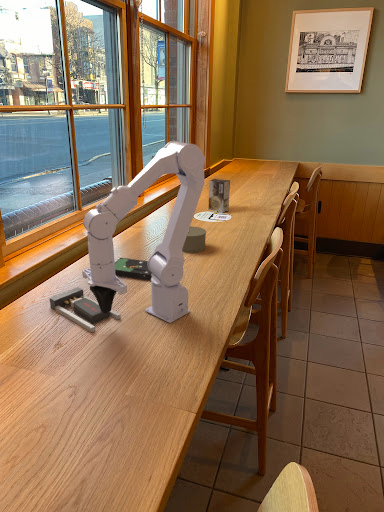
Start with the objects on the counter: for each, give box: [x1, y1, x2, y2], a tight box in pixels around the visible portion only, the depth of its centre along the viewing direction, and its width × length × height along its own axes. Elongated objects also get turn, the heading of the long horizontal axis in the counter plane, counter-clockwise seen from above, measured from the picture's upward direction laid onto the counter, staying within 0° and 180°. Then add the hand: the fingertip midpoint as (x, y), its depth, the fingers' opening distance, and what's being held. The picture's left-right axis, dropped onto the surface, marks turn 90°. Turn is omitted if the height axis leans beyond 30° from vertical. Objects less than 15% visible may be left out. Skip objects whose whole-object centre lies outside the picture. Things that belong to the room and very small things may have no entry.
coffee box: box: [208, 178, 231, 213], centre depth 200 cm, size 9×6×16 cm
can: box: [182, 226, 207, 254], centre depth 149 cm, size 12×12×7 cm
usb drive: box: [70, 298, 111, 325], centre depth 103 cm, size 5×12×3 cm, turn 46°
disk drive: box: [115, 257, 152, 281], centre depth 128 cm, size 10×3×15 cm
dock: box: [48, 286, 122, 333], centre depth 102 cm, size 18×9×3 cm, turn 50°
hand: (106, 311), depth 96 cm, fingers closed
